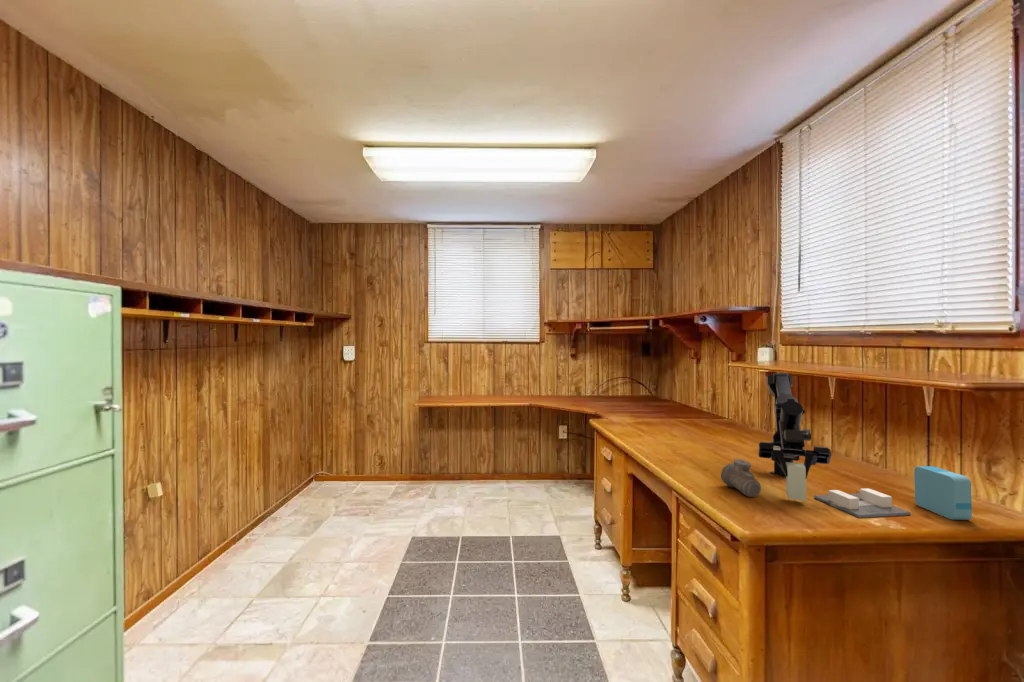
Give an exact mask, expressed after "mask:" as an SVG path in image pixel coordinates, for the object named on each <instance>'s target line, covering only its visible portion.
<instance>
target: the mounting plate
mask: <svg viewBox="0 0 1024 682" xmlns="http://www.w3.org/2000/svg"><path fill="white" fill-rule="evenodd" d="M848 494H849V495H852V496H854V497H857V498H859V509H848V508H846V507H844V506H842V505H839V504H837V503H835V502H832V501H830V500H829V494H818V495H817V494H815V495H813V498H814V499H816V500H818V501H820V502H822V503H825V504H826V505H829V506H831V507H833V508H835V509H838V510H840V511H842V512H844V513H847V514H849V515H851V516H854V517H856V518H858V519H863V518H865V519H866V518H881V517H883V518H884V517H898V516H899V517H900V516H902V517H903V516H911V511H908V510H905V509H903V508H900V507H898V506H895V505H893V504H892V507H880V506H878V505H876V504H873V503H870V502H868V501H865V500H863V499H860V492H859V493H857V492H856V493H855V492H854V493H848Z"/></svg>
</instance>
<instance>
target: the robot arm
mask: <svg viewBox="0 0 1024 682" xmlns="http://www.w3.org/2000/svg"><path fill="white" fill-rule="evenodd" d="M793 377H794V376H792V375H790V374H789V373H786V372H785V373H784V372H775V373H773V374H769V375H767V376H766V387H768V392H769V393H770V394H771V396H772V397H773V413H774V417H775V418H774V419H775V433H774V434H773V436H772V439H771V441H760V442H759V443H758V457H759V458H762V459H763V458H764V459H771V461H773V471H770V474H771V475H775V476H779V477H782V478H785V479H786V476H788V473H787V467H786V462H792V463H794V461H797V462H799V461H800V457H804V461H803V464H804V466H805V467H806V480H807V479H808V474H809V471H810V469H811V467H812V466H815V465H816V464H819V465H820V464H822V465H828V464H830V462H831V458H832V451H831V449H830V448H829V447H828V446H817V445H815V446H813V450H809V449H804V448H805V445H806V443H805V441H808V442H809V441H812V432H811V429H810V428H809V429H808V428H807V429H806V428H803V429H802V430H801V425H800V424H801V422H802V417H803V416H804V414H805V413H806V409H804V407H803V406H802V404H801V403H799V400H798V399H797V398H796V397H794V396H793V394H792V389H791V388H792V387H793V386H794V380H793Z"/></svg>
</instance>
